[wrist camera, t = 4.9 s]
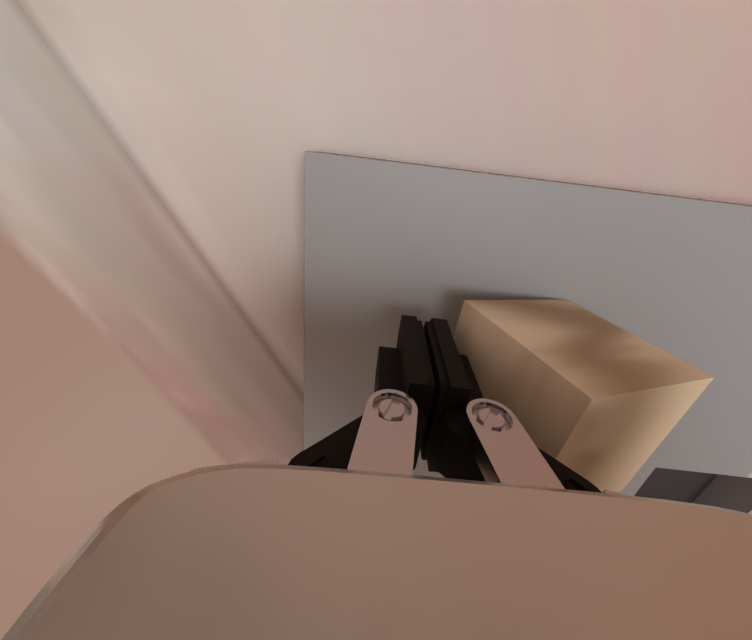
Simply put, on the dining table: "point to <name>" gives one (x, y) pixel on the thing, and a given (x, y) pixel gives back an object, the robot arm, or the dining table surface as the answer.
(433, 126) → the dining table surface
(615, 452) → the block
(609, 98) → the dining table surface
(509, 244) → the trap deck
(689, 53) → the dining table surface
